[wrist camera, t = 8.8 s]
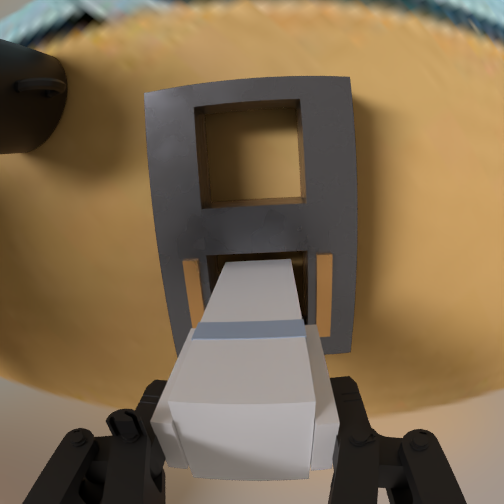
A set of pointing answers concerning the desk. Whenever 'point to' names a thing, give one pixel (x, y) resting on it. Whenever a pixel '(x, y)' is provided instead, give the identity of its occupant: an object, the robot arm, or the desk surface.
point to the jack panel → (256, 210)
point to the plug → (248, 380)
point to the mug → (28, 97)
